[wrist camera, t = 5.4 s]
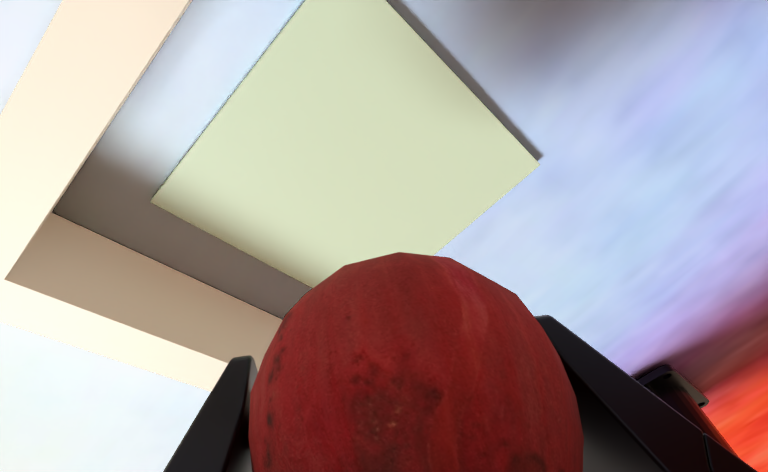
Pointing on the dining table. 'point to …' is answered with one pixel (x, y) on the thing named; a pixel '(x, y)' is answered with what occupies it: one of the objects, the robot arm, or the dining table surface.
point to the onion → (412, 378)
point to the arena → (238, 175)
